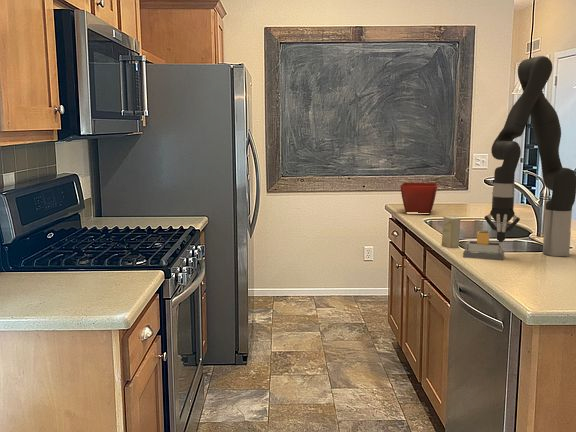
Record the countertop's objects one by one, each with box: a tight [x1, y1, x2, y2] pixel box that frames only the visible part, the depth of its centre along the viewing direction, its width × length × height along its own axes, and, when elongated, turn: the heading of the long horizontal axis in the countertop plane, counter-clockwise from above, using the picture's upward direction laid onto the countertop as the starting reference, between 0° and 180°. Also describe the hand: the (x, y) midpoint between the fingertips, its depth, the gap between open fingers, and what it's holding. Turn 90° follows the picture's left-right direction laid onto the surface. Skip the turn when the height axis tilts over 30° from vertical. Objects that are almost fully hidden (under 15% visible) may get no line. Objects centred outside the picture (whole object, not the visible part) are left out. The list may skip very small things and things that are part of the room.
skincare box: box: [441, 215, 461, 249], centre depth 246 cm, size 6×4×12 cm
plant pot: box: [400, 182, 438, 214], centre depth 341 cm, size 19×19×17 cm
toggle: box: [476, 230, 490, 245], centre depth 227 cm, size 4×4×7 cm
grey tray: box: [462, 240, 505, 261], centre depth 227 cm, size 14×9×5 cm, turn 67°
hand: (500, 241), depth 224 cm, fingers closed
